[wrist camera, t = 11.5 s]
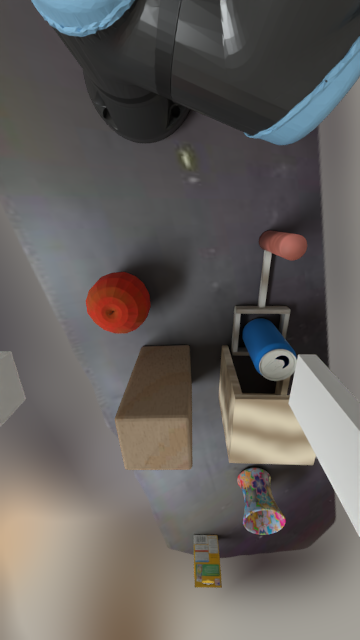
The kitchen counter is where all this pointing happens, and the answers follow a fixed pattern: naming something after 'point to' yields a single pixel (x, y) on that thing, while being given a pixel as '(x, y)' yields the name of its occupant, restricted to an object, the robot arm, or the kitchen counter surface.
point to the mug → (259, 503)
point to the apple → (118, 302)
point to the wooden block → (157, 411)
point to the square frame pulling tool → (284, 247)
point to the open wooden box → (260, 422)
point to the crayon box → (207, 561)
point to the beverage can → (269, 350)
